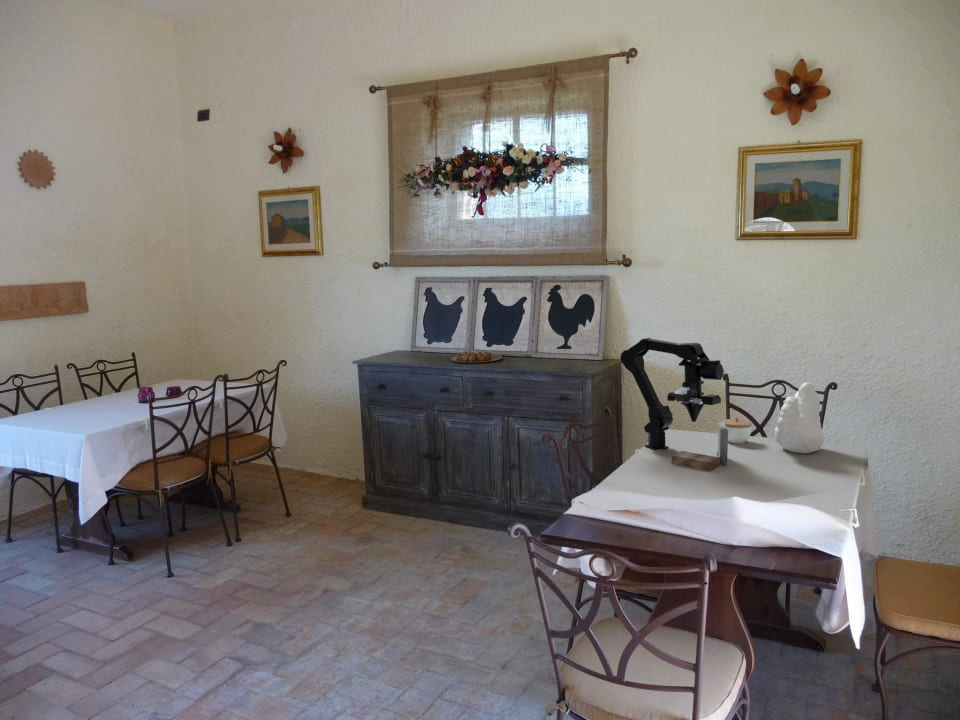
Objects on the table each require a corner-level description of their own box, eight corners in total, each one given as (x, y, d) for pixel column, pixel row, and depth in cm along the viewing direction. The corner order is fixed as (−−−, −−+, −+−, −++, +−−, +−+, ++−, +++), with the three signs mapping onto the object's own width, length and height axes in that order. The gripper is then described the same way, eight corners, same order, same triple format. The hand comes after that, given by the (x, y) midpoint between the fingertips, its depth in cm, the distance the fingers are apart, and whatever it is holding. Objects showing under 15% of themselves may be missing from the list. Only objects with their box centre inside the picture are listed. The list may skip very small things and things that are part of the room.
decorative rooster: (795, 442, 269) (798, 377, 266) (834, 451, 256) (837, 383, 253) (751, 452, 257) (753, 384, 254) (789, 462, 244) (792, 390, 240)
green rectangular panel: (727, 465, 240) (728, 430, 238) (720, 465, 240) (720, 430, 238) (723, 455, 252) (724, 422, 251) (716, 454, 253) (717, 421, 251)
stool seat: (671, 463, 245) (671, 455, 244) (682, 459, 250) (682, 450, 250) (709, 471, 235) (710, 462, 235) (720, 466, 240) (720, 457, 240)
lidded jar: (715, 439, 276) (716, 416, 274) (739, 437, 279) (739, 413, 278) (733, 446, 265) (733, 421, 264) (757, 443, 269) (758, 419, 267)
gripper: (657, 379, 255) (658, 422, 257) (703, 383, 241) (704, 428, 242) (675, 375, 262) (676, 417, 264) (721, 379, 248) (722, 423, 249)
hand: (693, 421), depth 254 cm, fingers closed
